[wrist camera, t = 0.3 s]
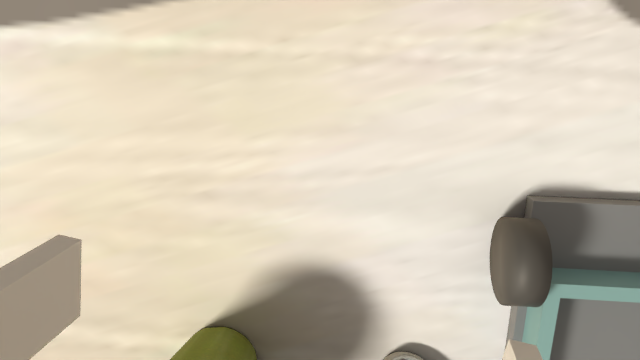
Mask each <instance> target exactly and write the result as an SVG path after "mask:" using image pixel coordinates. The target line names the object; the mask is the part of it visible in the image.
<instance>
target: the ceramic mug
mask: <svg viewBox="0 0 640 360" xmlns="http://www.w3.org/2000/svg"><path fill="white" fill-rule="evenodd" d="M400 359H405V360H423V359H422V358H421V357H420V356H418V355H416V354H413V353H410V352H403V351H400V352H395V353H392V354H390V355H389V356H387V357H385V358H384V359H383V360H400Z"/></svg>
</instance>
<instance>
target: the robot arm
mask: <svg viewBox="0 0 640 360" xmlns="http://www.w3.org/2000/svg"><path fill="white" fill-rule="evenodd" d="M80 298H81V240H80V239H76V238H72V237H67V236H63V235H57V236H55V237H54V238H52V239H50V240H48V241H47V242H45V243H43V244H41V245H40V246H38V247H36V248H34V249H33V250H31V251H29V252H27V253H26V254H24V255H22V256H20V257H19V258H17V259H15V260H13V261H12V262H10V263H8V264H6V265H5V266H3V267H1V268H0V360H29V359H30V358H32V357H33V356H34V355H35V354H36V353H37V352H39V351H40V350H41V349H42V348H43V347H44V346H46V345H47V344H48V343H49V342H50V341H51V340H52V339H54V338H55V337H56V336H57V335H58V334H59V333H61V332H62V331H63V330H64V329H65V328H66V327H68V326H69V325H70V324H71V323H72V322H73V321H74V320H76V319H77V318H78V317H79V316H80ZM502 360H543V359H542V357H541V355H540V352H539V350H538V348H537V346H536V345H532V344H528V343H524V342H519V341H515V340H511V339H509V340H508V343H507V346H506V349H505V352H504V355H503V358H502Z"/></svg>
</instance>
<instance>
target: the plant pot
mask: <svg viewBox="0 0 640 360" xmlns="http://www.w3.org/2000/svg"><path fill="white" fill-rule="evenodd" d="M170 360H257V358H256V353H255V350H254V348H253V346H252V344H251V343H250V342H249V341H248V339H247V338H246V337H245V336H243V335H242V334H240V333H239V332H237V331H235V330H233V329H230V328H227V327H215V328H204V329H202V330H200V331H198V332H197V333H196V334H194V335H193V336H192V337H191V338H190V339H189V340H188V341H187V342H186V343H185V345H184V346H183V347H182V348H181V349H180V350H179V351H178V352H177V353H176V354H175V355H174V356H173V357H172V358H171V359H170Z"/></svg>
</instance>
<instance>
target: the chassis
mask: <svg viewBox="0 0 640 360" xmlns="http://www.w3.org/2000/svg"><path fill="white" fill-rule="evenodd" d="M490 273H491V281H492V286H493V290H494V293H495V296H496V298H497V300H498V302H499V303H500V304H501V305H506V306H511V312H510V319H509V326H508V333H507V340H506V346H507V343H508V340H509V339H511V340H515V341H519V342H524V343H528V344H532V345H536V346H537V348H538V350H539V352H540V355H541V357H542V359H543V360H640V201H639V200H616V199H594V198H571V197H549V196H527V202H526V209H525V215H524V218H516V217H501V218H500V219H499V220H498V221H497V223H496V225H495V227H494V230H493V234H492V239H491V247H490ZM505 349H506V347H505Z"/></svg>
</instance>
